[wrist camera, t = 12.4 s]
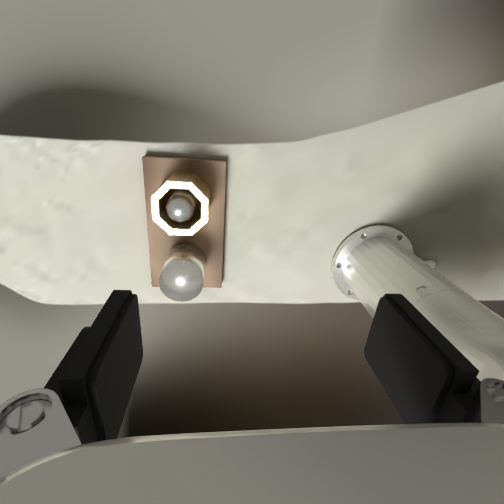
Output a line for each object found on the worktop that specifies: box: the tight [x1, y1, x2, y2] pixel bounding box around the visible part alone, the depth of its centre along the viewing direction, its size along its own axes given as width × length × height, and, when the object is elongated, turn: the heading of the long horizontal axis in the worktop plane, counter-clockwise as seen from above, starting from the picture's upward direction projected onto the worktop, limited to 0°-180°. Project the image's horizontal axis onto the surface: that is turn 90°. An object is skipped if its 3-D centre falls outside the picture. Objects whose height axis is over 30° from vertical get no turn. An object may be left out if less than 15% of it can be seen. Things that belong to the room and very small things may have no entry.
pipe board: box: [142, 155, 226, 288], centre depth 40 cm, size 10×18×2 cm, turn 176°
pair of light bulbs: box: [159, 188, 206, 301], centre depth 37 cm, size 5×13×7 cm, turn 176°
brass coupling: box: [151, 171, 210, 236], centre depth 35 cm, size 6×6×6 cm
